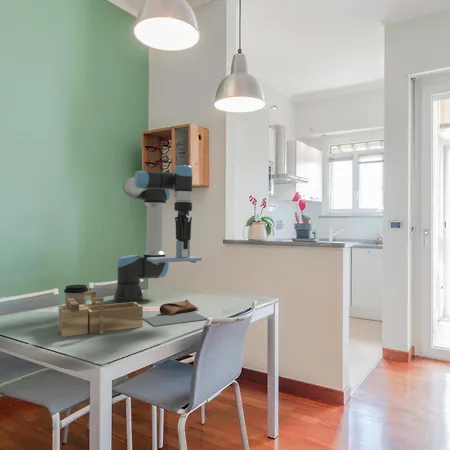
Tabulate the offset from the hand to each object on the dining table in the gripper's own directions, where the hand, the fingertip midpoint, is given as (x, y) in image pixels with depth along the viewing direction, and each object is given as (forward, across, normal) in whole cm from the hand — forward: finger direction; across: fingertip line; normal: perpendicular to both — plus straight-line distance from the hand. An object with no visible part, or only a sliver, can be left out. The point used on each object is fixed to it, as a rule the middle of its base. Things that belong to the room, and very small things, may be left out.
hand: (182, 256), depth 169 cm
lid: (+2, 0, -4) cm, 4 cm away
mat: (+27, 0, -3) cm, 27 cm away
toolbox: (+27, 0, -34) cm, 43 cm away
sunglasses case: (+27, -12, +4) cm, 29 cm away
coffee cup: (+27, -12, -41) cm, 51 cm away
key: (+17, +1, -45) cm, 48 cm away
